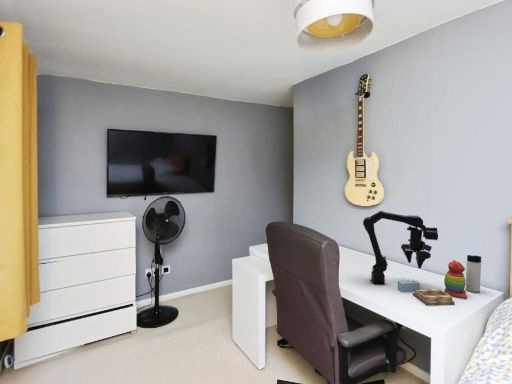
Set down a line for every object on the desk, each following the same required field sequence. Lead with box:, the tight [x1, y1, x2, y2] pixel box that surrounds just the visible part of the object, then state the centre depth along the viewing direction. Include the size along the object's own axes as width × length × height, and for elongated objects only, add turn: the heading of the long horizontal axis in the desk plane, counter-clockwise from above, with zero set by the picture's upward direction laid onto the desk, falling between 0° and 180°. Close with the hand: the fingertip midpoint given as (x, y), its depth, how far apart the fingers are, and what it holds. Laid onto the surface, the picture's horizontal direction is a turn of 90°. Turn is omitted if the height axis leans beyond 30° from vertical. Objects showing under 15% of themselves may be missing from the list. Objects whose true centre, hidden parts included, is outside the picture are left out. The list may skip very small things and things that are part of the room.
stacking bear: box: [443, 259, 468, 300], centre depth 155 cm, size 11×10×18 cm
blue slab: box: [397, 278, 421, 293], centre depth 161 cm, size 10×4×6 cm, turn 90°
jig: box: [412, 288, 455, 307], centre depth 150 cm, size 14×12×4 cm
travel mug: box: [465, 254, 482, 294], centre depth 159 cm, size 6×7×20 cm
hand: (414, 265), depth 165 cm, fingers open, 9 cm apart
